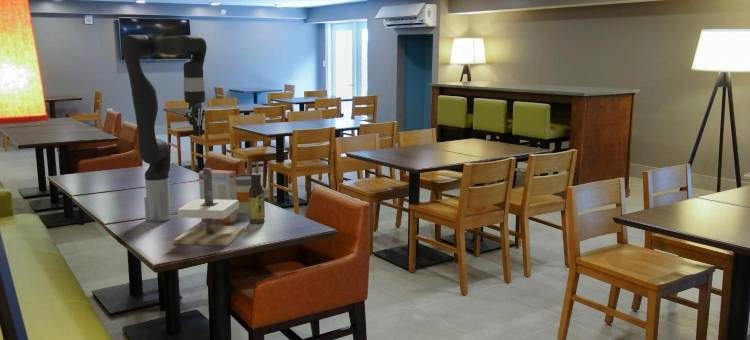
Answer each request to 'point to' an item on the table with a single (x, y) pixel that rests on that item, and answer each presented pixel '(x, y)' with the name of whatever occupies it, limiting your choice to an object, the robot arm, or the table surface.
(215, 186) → the cracker box
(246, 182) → the reusable coffee cup
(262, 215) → the sauce bottle
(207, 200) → the pipe stand
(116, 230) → the table surface
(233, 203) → the off-white slab
